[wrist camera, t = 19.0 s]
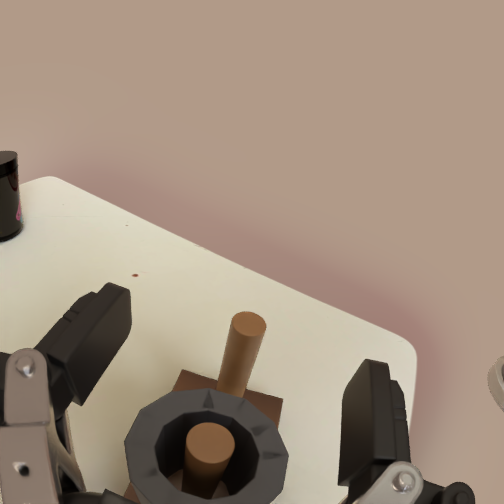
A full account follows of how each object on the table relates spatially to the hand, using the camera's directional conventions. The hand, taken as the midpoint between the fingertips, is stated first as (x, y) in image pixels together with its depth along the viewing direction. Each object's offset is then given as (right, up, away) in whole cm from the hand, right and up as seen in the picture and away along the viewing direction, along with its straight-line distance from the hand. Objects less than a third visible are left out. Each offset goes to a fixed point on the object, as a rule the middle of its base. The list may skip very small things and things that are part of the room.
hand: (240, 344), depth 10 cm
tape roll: (-3, -12, +5) cm, 13 cm away
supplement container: (-34, +6, +24) cm, 42 cm away
